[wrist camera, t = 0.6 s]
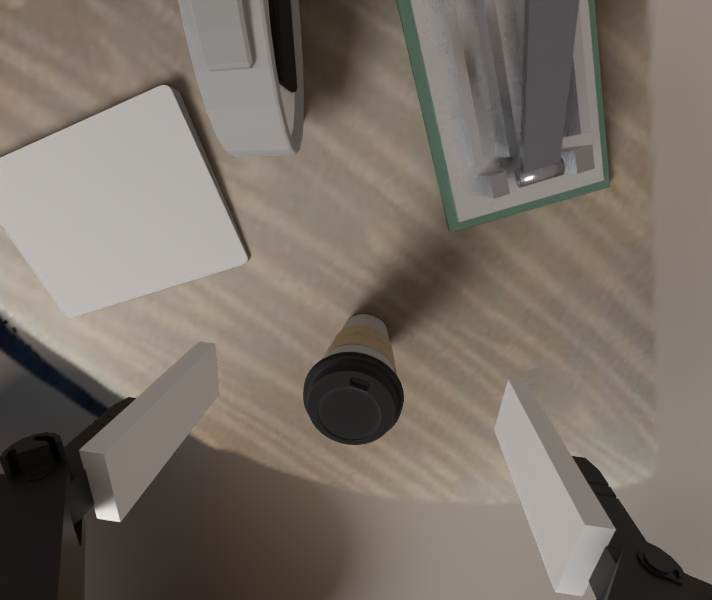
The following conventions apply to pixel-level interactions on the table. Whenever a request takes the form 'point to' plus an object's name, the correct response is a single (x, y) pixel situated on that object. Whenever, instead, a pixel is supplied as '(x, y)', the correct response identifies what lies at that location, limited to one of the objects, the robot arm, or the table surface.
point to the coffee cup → (355, 384)
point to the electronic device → (118, 205)
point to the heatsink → (497, 106)
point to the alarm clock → (249, 72)
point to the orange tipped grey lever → (545, 87)
